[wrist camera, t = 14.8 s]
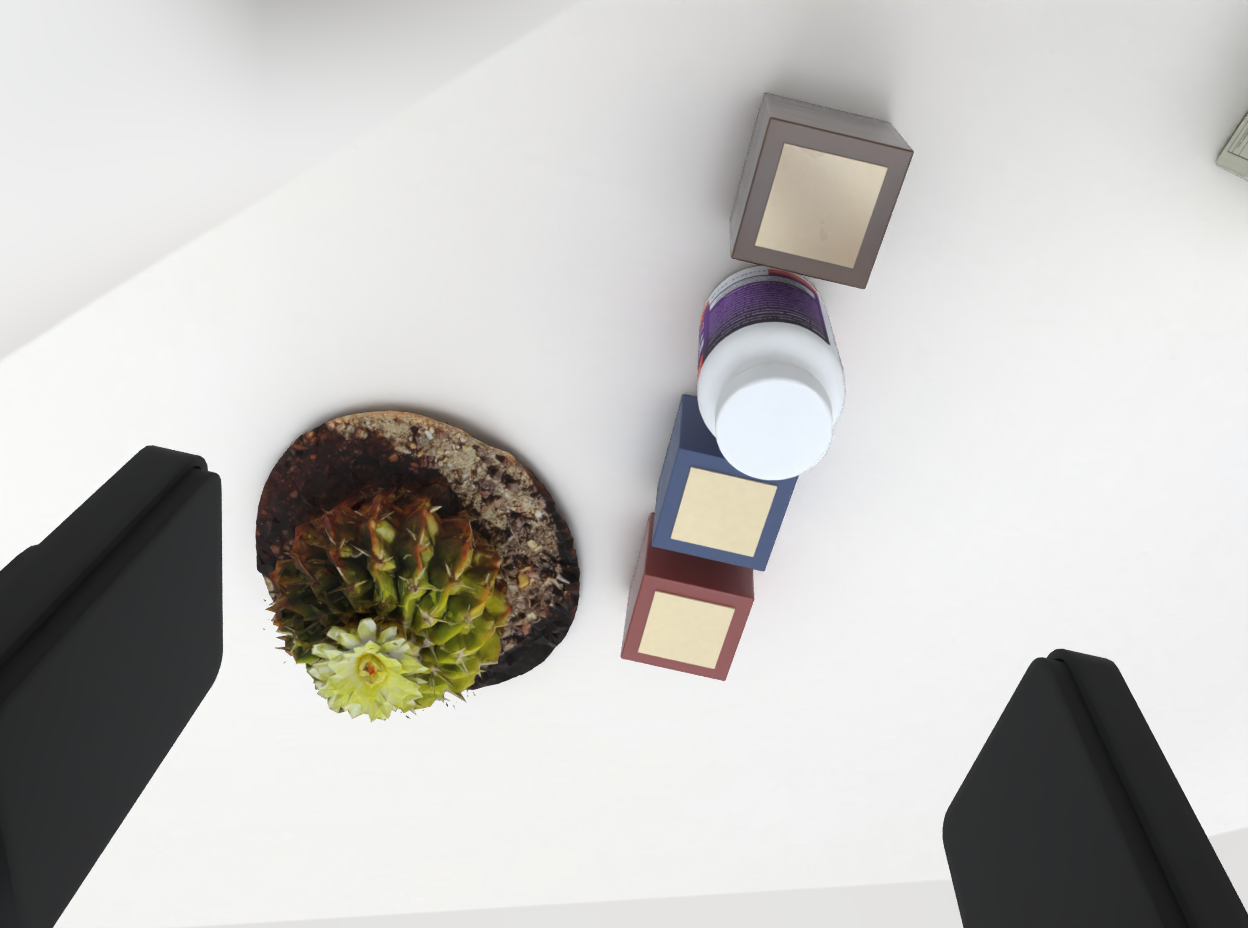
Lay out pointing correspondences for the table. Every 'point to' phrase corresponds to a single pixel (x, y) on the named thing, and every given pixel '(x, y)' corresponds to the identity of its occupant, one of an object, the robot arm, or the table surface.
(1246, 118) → the cosmetic box
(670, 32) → the table surface
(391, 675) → the cactus
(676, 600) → the block
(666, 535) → the block
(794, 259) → the block
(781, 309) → the pill bottle
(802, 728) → the table surface
